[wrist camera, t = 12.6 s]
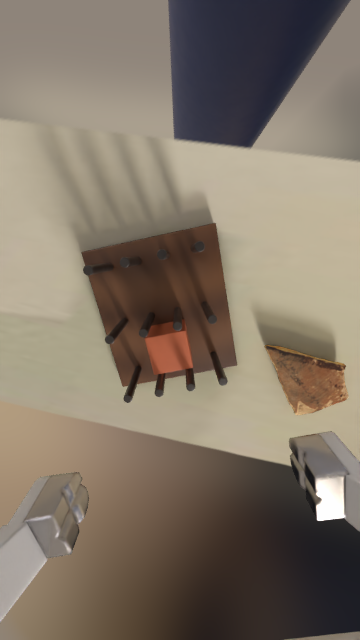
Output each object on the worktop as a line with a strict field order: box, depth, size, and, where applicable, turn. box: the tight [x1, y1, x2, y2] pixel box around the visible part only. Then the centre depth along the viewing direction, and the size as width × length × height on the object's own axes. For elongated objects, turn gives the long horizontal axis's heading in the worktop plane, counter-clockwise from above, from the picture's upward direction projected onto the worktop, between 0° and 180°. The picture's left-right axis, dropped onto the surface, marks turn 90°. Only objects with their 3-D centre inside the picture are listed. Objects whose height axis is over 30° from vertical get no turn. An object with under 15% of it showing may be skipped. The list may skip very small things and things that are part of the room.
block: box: [145, 319, 193, 375], centre depth 24 cm, size 4×4×4 cm
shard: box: [265, 345, 349, 415], centre depth 27 cm, size 11×8×2 cm
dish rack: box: [81, 223, 237, 403], centre depth 23 cm, size 16×14×7 cm
